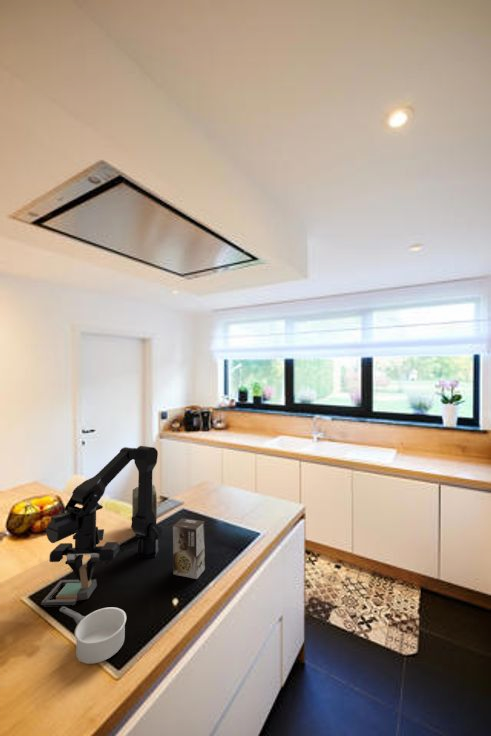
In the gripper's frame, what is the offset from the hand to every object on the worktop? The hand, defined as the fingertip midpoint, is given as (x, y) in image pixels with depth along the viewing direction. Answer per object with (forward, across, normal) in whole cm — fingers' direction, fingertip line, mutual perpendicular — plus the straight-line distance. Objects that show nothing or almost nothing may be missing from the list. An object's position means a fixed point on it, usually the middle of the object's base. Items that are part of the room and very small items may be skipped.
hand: (85, 580), depth 96 cm
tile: (+4, +4, 0) cm, 6 cm away
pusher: (+4, -1, 0) cm, 4 cm away
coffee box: (+4, -30, -10) cm, 32 cm away
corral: (+4, +5, 0) cm, 7 cm away
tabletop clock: (+4, -6, -40) cm, 41 cm away
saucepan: (+4, -9, +18) cm, 20 cm away
